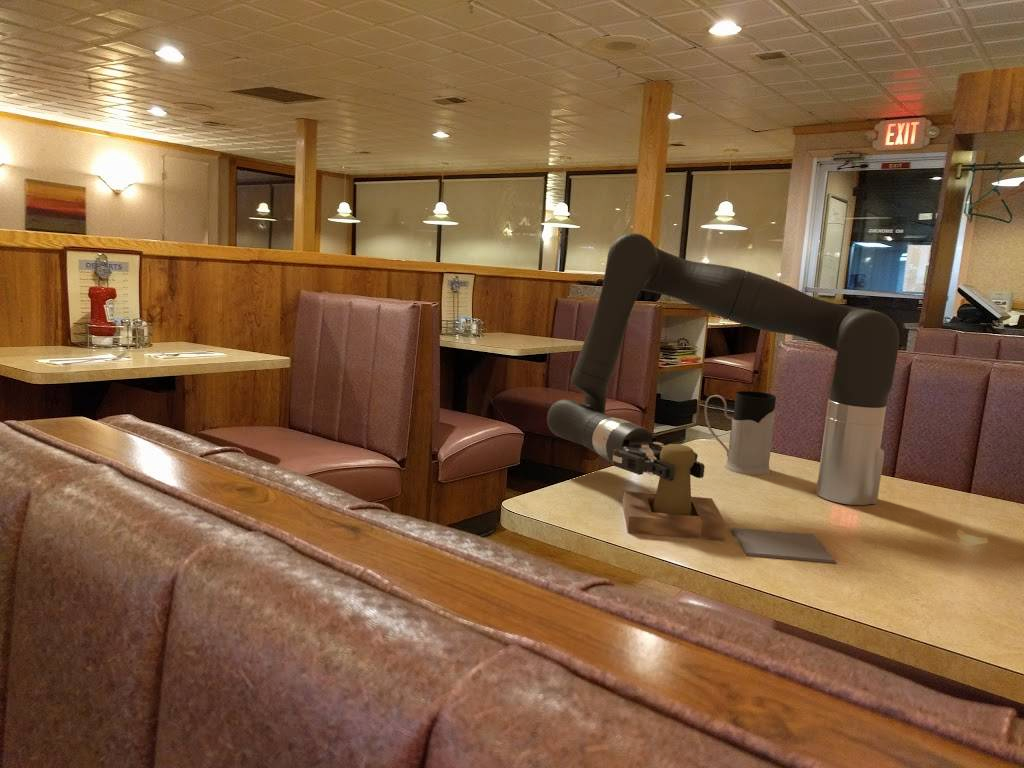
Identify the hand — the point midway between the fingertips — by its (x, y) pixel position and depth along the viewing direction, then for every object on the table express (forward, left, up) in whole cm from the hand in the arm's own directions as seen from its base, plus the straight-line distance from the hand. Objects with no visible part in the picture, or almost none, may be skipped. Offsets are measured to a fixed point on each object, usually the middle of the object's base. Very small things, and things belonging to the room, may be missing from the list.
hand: (687, 472), depth 112 cm
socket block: (+1, -2, -9) cm, 9 cm away
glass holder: (-16, -39, -9) cm, 43 cm away
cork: (+1, -2, -8) cm, 8 cm away
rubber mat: (-14, +4, -9) cm, 17 cm away
